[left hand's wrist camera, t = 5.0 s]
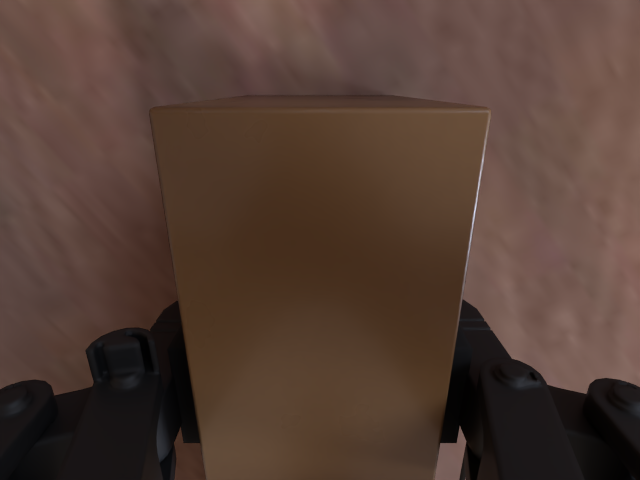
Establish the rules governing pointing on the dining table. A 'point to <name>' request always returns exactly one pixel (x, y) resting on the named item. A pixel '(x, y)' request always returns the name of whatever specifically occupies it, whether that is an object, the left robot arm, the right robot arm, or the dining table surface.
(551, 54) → the dining table surface
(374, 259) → the beam
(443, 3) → the dining table surface
